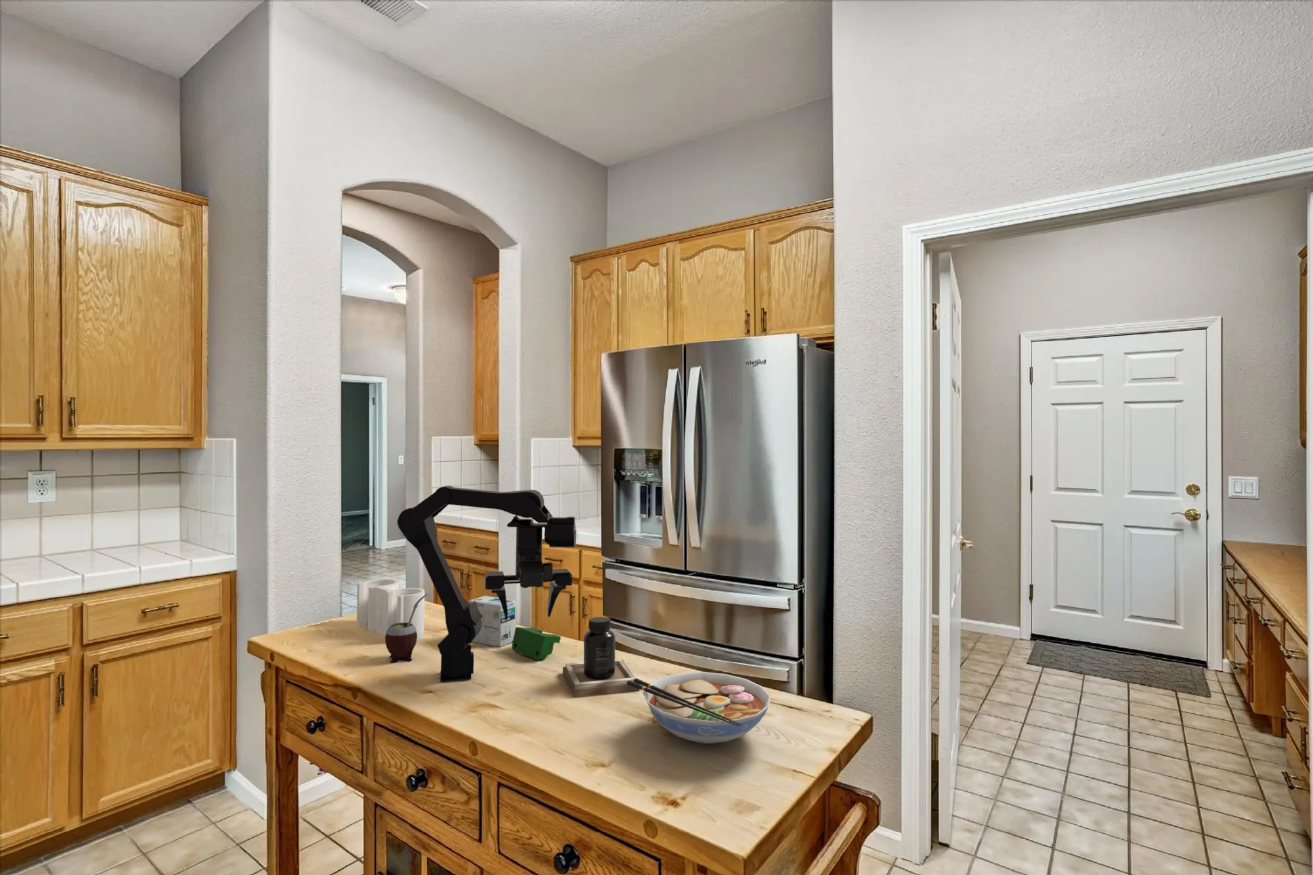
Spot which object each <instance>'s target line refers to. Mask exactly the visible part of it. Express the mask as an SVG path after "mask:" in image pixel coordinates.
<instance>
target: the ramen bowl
mask: <svg viewBox="0 0 1313 875" xmlns="http://www.w3.org/2000/svg"><path fill="white" fill-rule="evenodd" d="M634 682H635V683H634ZM634 682H632V681H627V685H629V686H632V687H635V688H637V689H640V690H639V691H643V692H642V695H643V696H644V699H645V700H646V704H647V705H648V707H649V710H650V712H651V713H652V715H653V717H654V719H655V720H656V721H657V722H658V724H659V725H660V726H662V727H663V728H665V729H666V730H667V731H668V732H670V733H671V734H673V735H675V736H676V737H679V738H682V739H685V740H688V741H690V742H695V743H697V744H703V745H716V744H720V743H724V742H725V743H726V742H729V741H733V740H736V739H739V738H742V737H743V736H745V735H746V734H748V733H749V732H750V731H751V730H752V729H754V728H755V727H756V726H757V725H758V724H759V723H760V721H761V720H762V719H763V718H764V716H765V714H766V712H767V711H768V710H769V707H770V704H771V695H770V694H769V693H768V691H767V690H765V688H764V687H763V686H761V685H760V684H757V683H755V682H753V681H751V680H749V679H746V678H743V677H739V676H736V675H735V676H734V675H731V674H727V673H718V672H708V671H696V672H695V671H694V672H679V673H674V674H671V675H665V676H660V678H657V679H656V680H653V681H652V682H650V683H648V682H647V681H643V680H642V679H639V678H638V677H636V679H634ZM639 684H640V685H639Z"/></svg>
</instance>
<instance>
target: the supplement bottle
mask: <svg viewBox="0 0 1313 875" xmlns="http://www.w3.org/2000/svg"><path fill="white" fill-rule="evenodd" d="M611 620H612V619H611V618H609V617H607V616H606V617H604V616H594V617H591V618H589V619H588V626H587V627H588V629H589V630H588V631H586V633H585V634H584V637H583V662H584V675H585V676H586V677H588V678H590V679H607V678H610V677H612V676H613V675H614V673H615V660H616V635H615V633H614V631H612V630H611V628H612V625H611V624H612V623H611Z"/></svg>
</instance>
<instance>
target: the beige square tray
mask: <svg viewBox="0 0 1313 875" xmlns="http://www.w3.org/2000/svg"><path fill="white" fill-rule="evenodd" d="M562 675H563V676H564V679H565V682H566V684H567V686H568V688H569V690H570V693H571V695H572V697H573V698H576V697H577V698H579V697H588V696H598V694H599V696H600V695H610V694H619V693H618V692H621V693H629V692H637V691H638V692H639V691H641V690H640V689H637V688H635V687H632V686H629V685H627V681H632V682H634V679H636V678H637V677H636V676H635V675H634V673H633V672H632V671H631V669H630V667H629V666H628V665H627V664H626V663H625V661H624V660H623V659H622V658H618V659H615V673H614V675H613V676H612V677H610V678H607V679H590V678H588V677H586V676H585V675H584V661H582V662H581V661H580V662H571V663H565V666H562ZM634 683H635V682H634ZM639 685H640V684H639Z"/></svg>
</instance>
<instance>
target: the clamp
mask: <svg viewBox="0 0 1313 875" xmlns="http://www.w3.org/2000/svg"><path fill="white" fill-rule="evenodd" d="M560 642H561V635H558V634H553V633H552V634H550V633H546V632H545V633H544V632H543V630H541V629H538V628H535V627H534V628H533V627H523V626H522V627H520V626H519V627H518V626H516V628H515V633H514V638H513V642H511V649H512V651H513V652H516V653H518V654H521V655H524V656H526V657H530V658H532V659H534V660H546V659H547V657H548V655H552V654H553V650H554V645H555V644H560Z"/></svg>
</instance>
